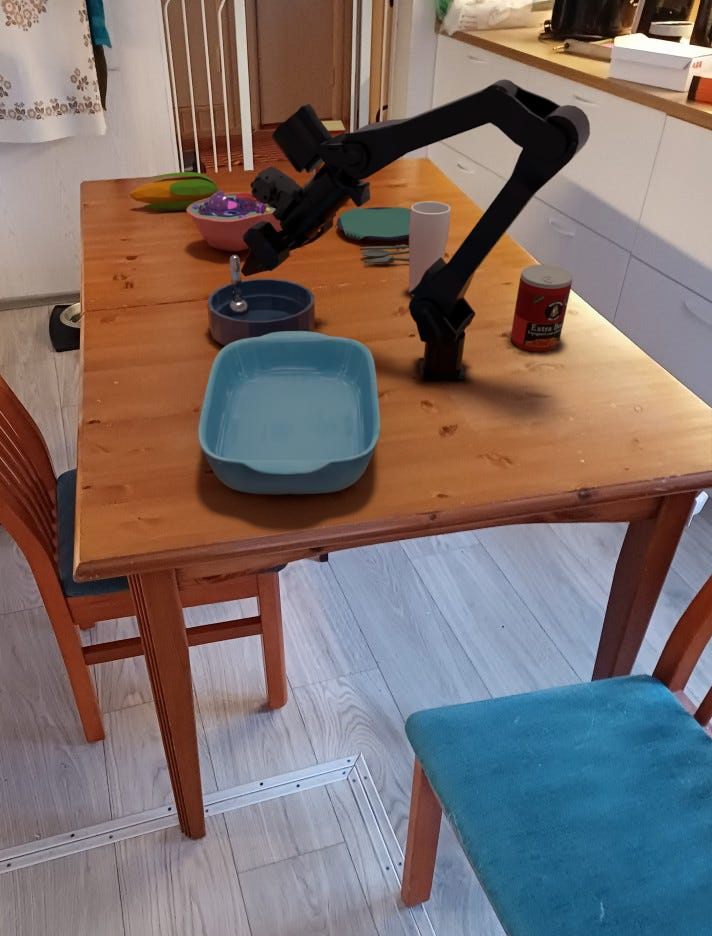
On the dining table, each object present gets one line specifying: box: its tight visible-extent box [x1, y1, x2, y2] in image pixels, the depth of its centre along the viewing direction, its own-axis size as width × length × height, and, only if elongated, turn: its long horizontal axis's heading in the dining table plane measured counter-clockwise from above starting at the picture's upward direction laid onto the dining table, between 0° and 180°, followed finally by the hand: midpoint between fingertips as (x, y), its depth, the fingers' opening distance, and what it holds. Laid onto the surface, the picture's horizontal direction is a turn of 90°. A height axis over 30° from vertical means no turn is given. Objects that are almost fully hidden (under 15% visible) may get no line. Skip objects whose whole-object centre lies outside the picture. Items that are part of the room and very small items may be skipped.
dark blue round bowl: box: [206, 278, 316, 347], centre depth 127 cm, size 17×17×6 cm
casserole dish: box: [197, 331, 381, 495], centre depth 102 cm, size 37×22×7 cm, turn 179°
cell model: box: [186, 190, 282, 253], centre depth 155 cm, size 17×20×11 cm
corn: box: [129, 171, 219, 212], centre depth 176 cm, size 7×8×20 cm
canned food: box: [510, 264, 574, 353], centre depth 121 cm, size 8×8×11 cm
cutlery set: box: [336, 206, 411, 265], centre depth 160 cm, size 20×30×2 cm, turn 3°
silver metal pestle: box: [227, 254, 250, 320], centre depth 126 cm, size 4×4×11 cm
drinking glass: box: [408, 200, 452, 297], centre depth 135 cm, size 7×7×15 cm
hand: (258, 263), depth 121 cm, fingers open, 9 cm apart
